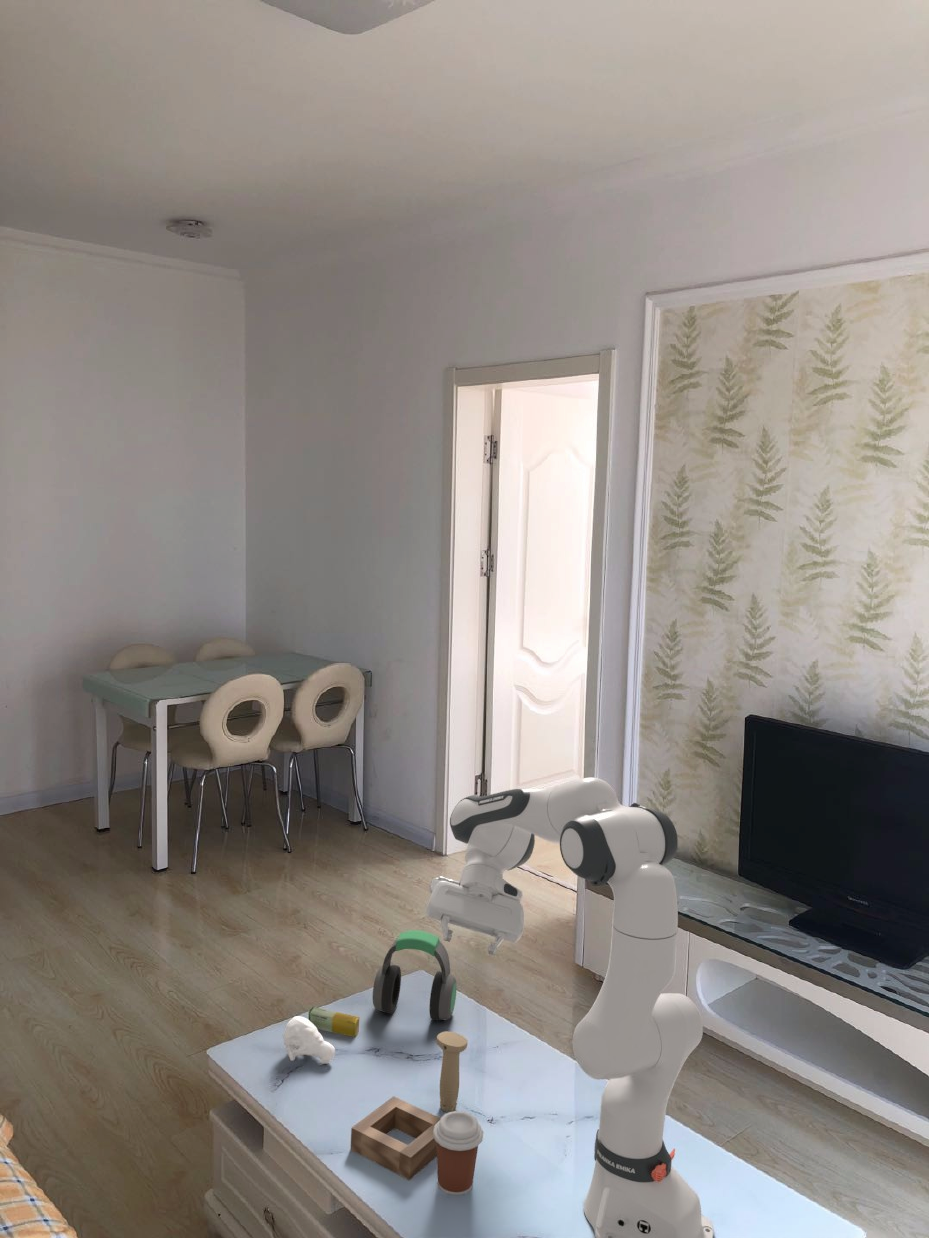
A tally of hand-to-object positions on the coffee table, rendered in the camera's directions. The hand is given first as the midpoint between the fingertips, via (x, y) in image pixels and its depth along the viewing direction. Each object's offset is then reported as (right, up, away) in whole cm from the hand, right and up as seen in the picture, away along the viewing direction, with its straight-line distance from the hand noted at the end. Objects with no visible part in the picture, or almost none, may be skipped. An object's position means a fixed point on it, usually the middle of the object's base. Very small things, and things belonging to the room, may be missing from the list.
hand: (469, 946), depth 203 cm
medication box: (-31, -30, +32) cm, 54 cm away
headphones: (-13, -30, +41) cm, 53 cm away
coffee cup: (-3, -38, -18) cm, 42 cm away
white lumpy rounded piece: (-35, -31, +20) cm, 51 cm away
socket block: (-13, -36, -9) cm, 39 cm away
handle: (-4, -35, +5) cm, 35 cm away
